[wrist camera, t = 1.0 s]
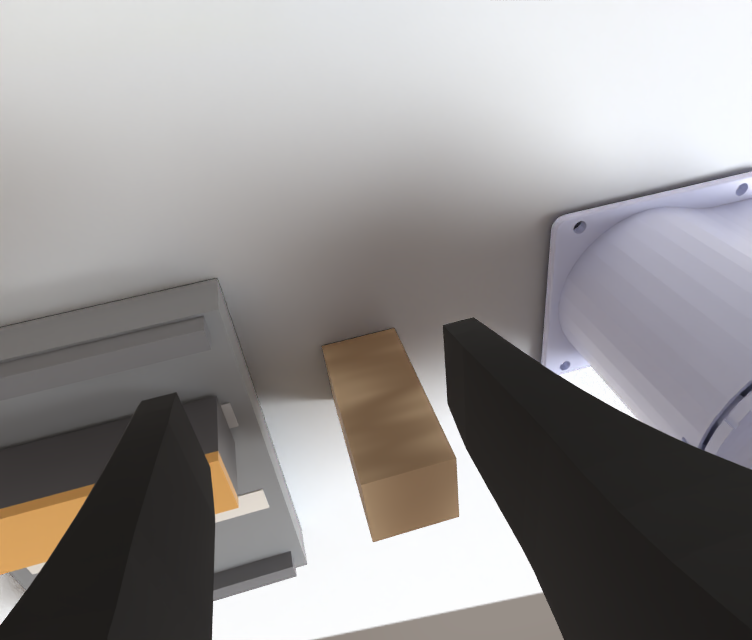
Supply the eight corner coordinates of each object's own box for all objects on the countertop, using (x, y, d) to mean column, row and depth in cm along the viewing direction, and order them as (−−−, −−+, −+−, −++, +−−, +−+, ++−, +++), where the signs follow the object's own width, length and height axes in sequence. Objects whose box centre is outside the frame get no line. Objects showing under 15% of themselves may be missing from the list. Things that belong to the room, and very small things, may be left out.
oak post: (394, 327, 23) (456, 458, 17) (401, 382, 25) (459, 516, 19) (321, 346, 22) (360, 485, 17) (333, 400, 24) (372, 542, 19)
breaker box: (217, 278, 20) (219, 323, 17) (301, 528, 28) (309, 579, 26) (-124, 355, 18) (-170, 415, 16) (76, 593, 27) (64, 653, 25)
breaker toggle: (216, 395, 20) (218, 460, 17) (234, 442, 21) (238, 507, 19) (-58, 465, 19) (-97, 545, 16) (-19, 509, 20) (-50, 588, 18)
